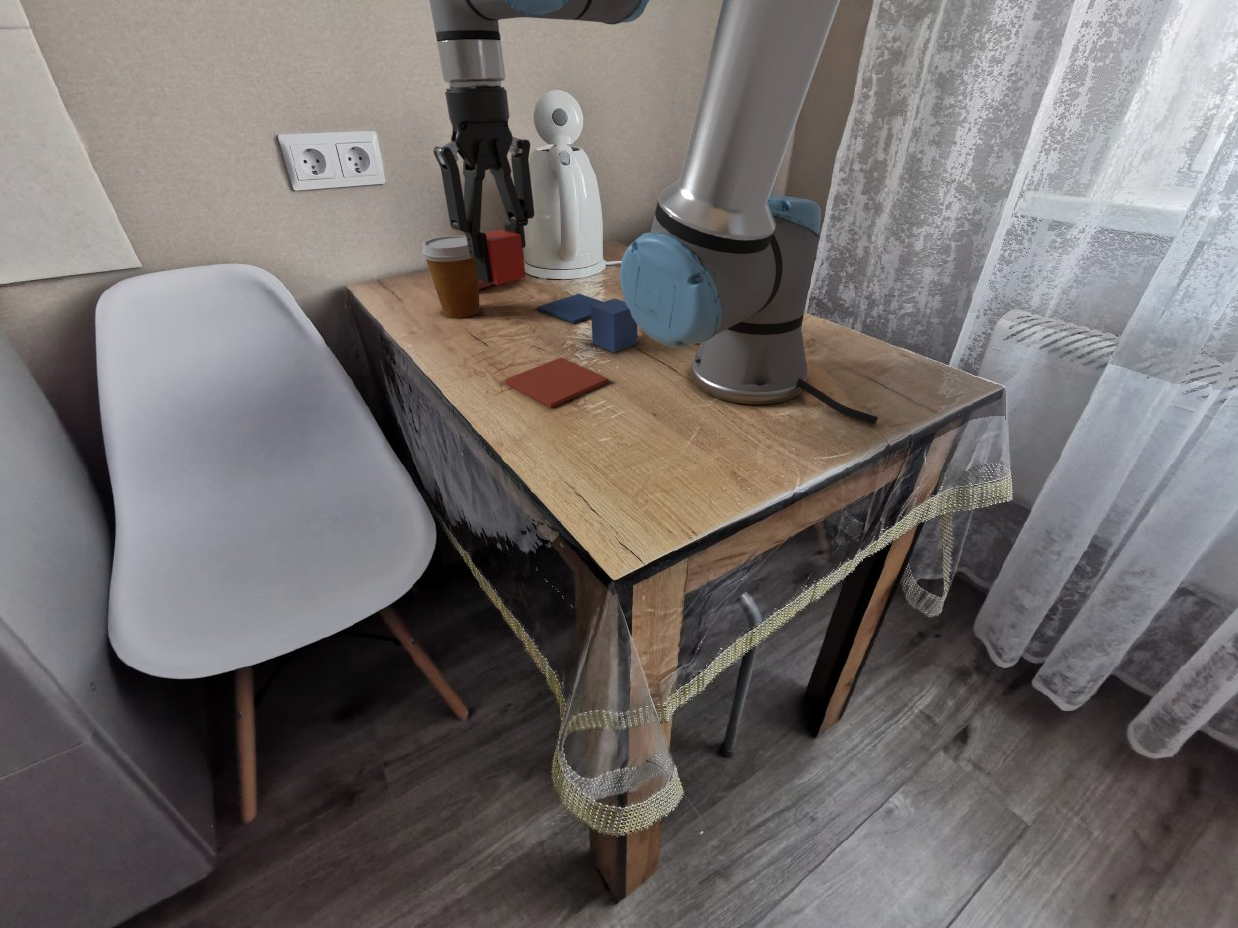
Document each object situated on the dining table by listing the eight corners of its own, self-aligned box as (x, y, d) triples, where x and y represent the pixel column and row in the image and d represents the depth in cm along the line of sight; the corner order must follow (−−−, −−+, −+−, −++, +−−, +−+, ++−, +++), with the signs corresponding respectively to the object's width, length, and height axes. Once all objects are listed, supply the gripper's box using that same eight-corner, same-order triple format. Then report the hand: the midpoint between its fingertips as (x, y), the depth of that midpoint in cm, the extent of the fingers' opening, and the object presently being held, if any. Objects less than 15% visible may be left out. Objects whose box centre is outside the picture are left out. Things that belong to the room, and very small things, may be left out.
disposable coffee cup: (482, 321, 96) (471, 248, 89) (427, 321, 96) (411, 249, 89) (493, 302, 103) (484, 234, 97) (442, 303, 104) (429, 235, 97)
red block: (525, 277, 82) (520, 234, 79) (497, 285, 79) (490, 241, 76) (506, 271, 85) (500, 229, 82) (478, 278, 82) (471, 235, 79)
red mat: (608, 382, 76) (608, 378, 76) (551, 408, 70) (550, 404, 70) (561, 361, 82) (561, 357, 82) (505, 383, 76) (504, 379, 76)
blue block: (637, 343, 87) (637, 305, 84) (614, 352, 84) (613, 314, 81) (615, 334, 90) (614, 298, 87) (592, 343, 87) (590, 306, 84)
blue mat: (616, 309, 100) (615, 305, 100) (573, 324, 94) (573, 320, 94) (579, 296, 106) (579, 293, 105) (537, 309, 100) (537, 306, 100)
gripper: (516, 84, 76) (535, 259, 90) (392, 87, 66) (434, 285, 79) (551, 83, 72) (565, 267, 85) (423, 86, 62) (462, 295, 75)
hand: (501, 275), depth 82 cm, fingers closed on red block, 5 cm apart
